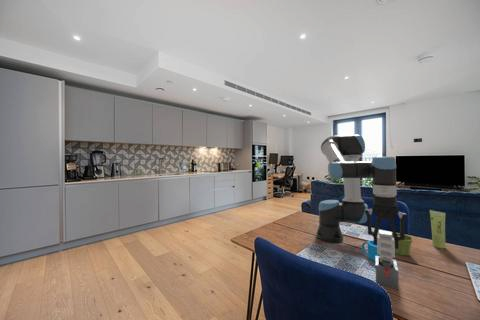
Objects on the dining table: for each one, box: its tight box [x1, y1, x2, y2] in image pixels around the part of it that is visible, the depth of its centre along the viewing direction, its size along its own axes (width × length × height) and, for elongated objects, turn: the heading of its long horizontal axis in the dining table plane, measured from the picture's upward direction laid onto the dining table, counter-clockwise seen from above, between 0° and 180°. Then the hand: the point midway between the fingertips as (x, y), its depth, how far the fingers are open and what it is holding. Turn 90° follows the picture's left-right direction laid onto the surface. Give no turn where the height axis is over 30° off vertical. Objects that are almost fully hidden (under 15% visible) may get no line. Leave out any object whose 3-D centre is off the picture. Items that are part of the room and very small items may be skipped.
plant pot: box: [391, 232, 414, 257], centre depth 100 cm, size 9×9×9 cm
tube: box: [429, 209, 447, 249], centre depth 106 cm, size 6×5×20 cm
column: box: [378, 229, 394, 268], centre depth 76 cm, size 4×6×16 cm
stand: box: [375, 256, 400, 290], centre depth 76 cm, size 18×12×10 cm, turn 55°
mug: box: [361, 239, 380, 262], centre depth 95 cm, size 12×8×8 cm
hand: (385, 254), depth 76 cm, fingers closed on column, 4 cm apart
